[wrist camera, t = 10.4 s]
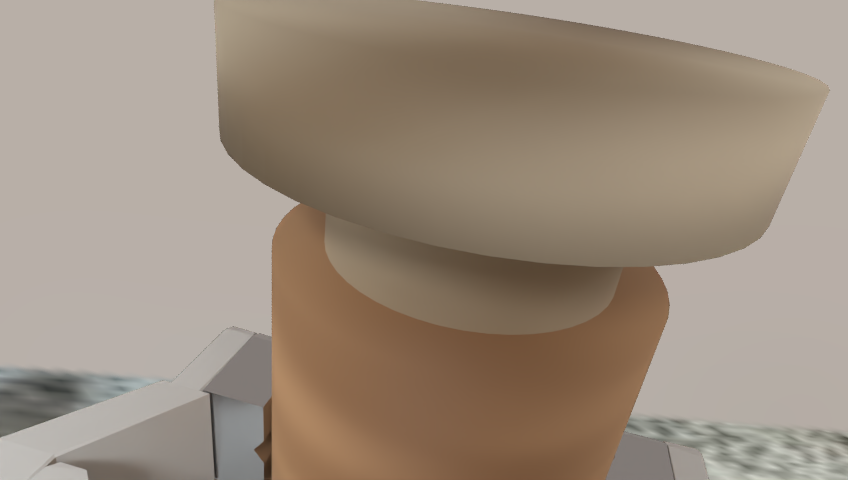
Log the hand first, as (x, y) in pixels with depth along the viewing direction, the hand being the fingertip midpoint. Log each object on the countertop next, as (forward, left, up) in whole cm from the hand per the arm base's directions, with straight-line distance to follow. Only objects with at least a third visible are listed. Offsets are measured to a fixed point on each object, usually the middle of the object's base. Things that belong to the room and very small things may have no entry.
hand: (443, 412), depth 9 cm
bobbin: (0, -1, -7) cm, 7 cm away
